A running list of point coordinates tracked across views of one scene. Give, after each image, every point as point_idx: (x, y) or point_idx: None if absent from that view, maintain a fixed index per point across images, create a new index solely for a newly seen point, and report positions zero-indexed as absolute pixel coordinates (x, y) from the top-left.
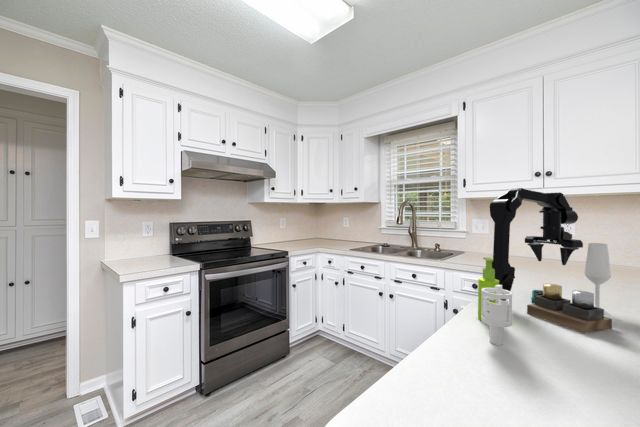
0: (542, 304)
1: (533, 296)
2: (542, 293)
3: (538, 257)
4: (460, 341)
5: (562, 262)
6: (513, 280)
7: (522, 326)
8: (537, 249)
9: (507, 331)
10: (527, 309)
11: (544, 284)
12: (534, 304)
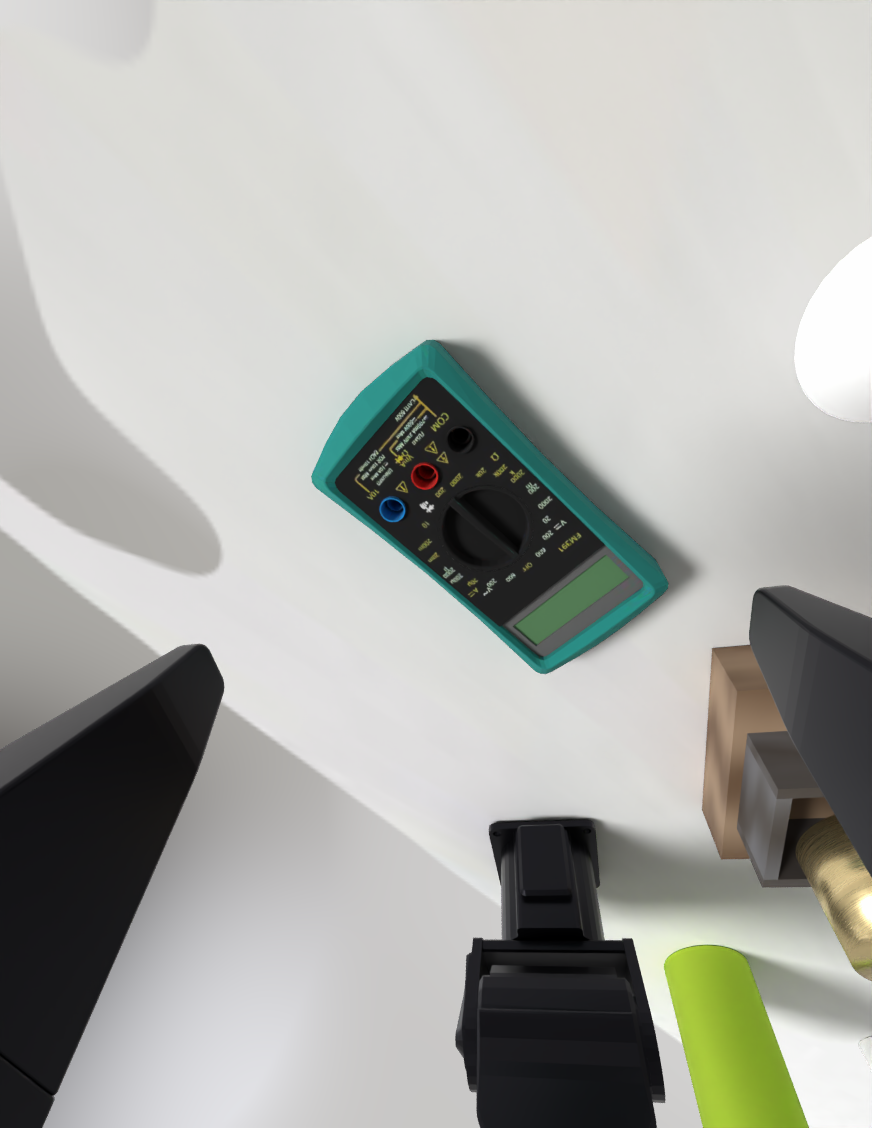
0: None
1: (522, 649)
2: (434, 490)
3: (193, 779)
4: (820, 1086)
5: (798, 709)
6: (651, 1018)
7: (823, 923)
8: (6, 1033)
9: (832, 982)
10: (712, 831)
11: (870, 970)
12: (732, 825)
